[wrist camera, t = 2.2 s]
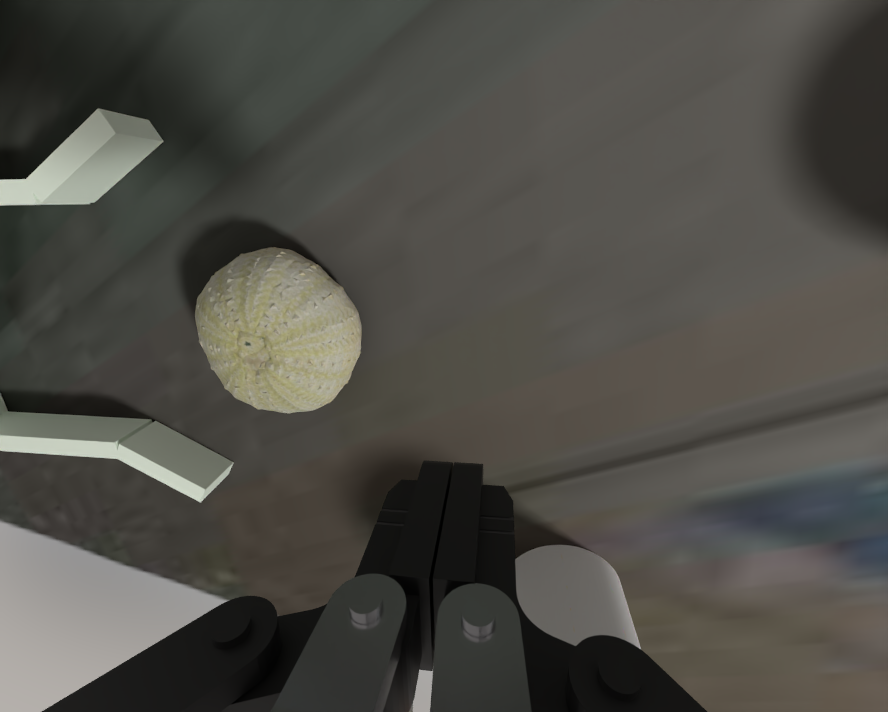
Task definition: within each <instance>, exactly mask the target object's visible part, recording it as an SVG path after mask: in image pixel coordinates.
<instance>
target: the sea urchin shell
mask: <svg viewBox="0 0 888 712" xmlns="http://www.w3.org/2000/svg"><path fill="white" fill-rule="evenodd" d="M195 320H196V325H197V330H198V335H199V339H200V340H199V342H200V344H201V346H202V348H203V349H204V352H205V353H206V355H207V358H208V361H209V363H210V364H211V369H212V370H214V371H215V373H216V374H217V376H218V377H219V379H220V380H221V382H222V383H223V385H224V389H226V390H228V391H229V392H230V393H231V394H232V395H233V396H234V397H235V398H237V399H239V400H241V401H243V402H245V403H248V404H250V405H252V406H254V407H255V408H257V409H265V410H270V411H277V412H283V413H288V414H289V413H291V412H293V413H294V412H303V411H312V410H315V409H318V408H320V407H322V406H323V405H325V404H327V403H330V402H331V401H333V399H334V398H335V397H336V395H337V394H338V393H339V391H340V390H341V389H342V388H343V387H344V385H345V384H347V383H348V380H349V379H350V376H351V372H352V370H353V368H354V366H355V364H356V362H357V359H358V357H359V356H360V355H359V354H360V353H361V352H360V349H361V334H362V326H361V322H360V318H359V313H358V311H357V309H356V308H355V306H354V304H353V303H352V301H351V300H350V299H349V297H348V296H347V294H346V292H345V291H344V290H343V287H342V286H340V285H339V284H337V283H336V282H335V281H334V280H333V279H332V278H330V277H329V276H328V274H327V273H326V272H325V271H324V270H323V269H322V268H321V266H319V265H318V264H315V263H314V262H312V261H310V260H308V259H306V258H304V257H303V256H302V255H300V254H298V253H296V252H294V251H293V250H290V249H288V250H287V249H282V248H276V247H273V248H272V247H270V248H266V249H260V250H257V251H254V252H249V253H246V254H242V253H241V254H240V256H238V257H236V258H235V259H234V260H233V261H232V262H230V263H229V264H228V265H226V266H225V267H223V268H222V269H220V270H219V271H217V272H215V274H214V275H213V276H211V279H210V281H209V282H208V283H207V284H206V286H205V288H204V289H203V291H202V292H201V294H199V296H198V297H197V304H196V310H195Z"/></svg>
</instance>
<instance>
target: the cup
mask: <svg viewBox="0 0 888 712" xmlns="http://www.w3.org/2000/svg"><path fill="white" fill-rule="evenodd" d="M515 567H516V591H517V598H518V601H519V604H520V606H521V608H522V610H523V612H524V613H525V615H526V616H527V617H528V618H529V619H530V621H531V622H532V623H533V624H535V625H536V626H537V627H538V628H540V629H541V630H543V631H544V632H545V633H547V634H549V635H551V636H553V637H556V638H558V639H560V640H563V641H565V642H567V643H570V644H572V645H574V646H576V645H577V644H578V643H580V642H581V641H582V640H584V639H586V638H588V637H591V636H595V635H609V636H614V637H618V638H621V639H623V640H626V641H628V642H630V643H632V644H633V645H635V646H636V647H638V648H639V649H641V648H640V644H639V641H638V638H637V635H636V632H635V628H634V625H633V622H632V619H631V615H630V612H629V609H628V606H627V602H626V599H625V596H624V593H623V590H622V586H621V583H620V580H619V577H618V575H617V573H616V572H615V570H614V569H613V568H612V566H611V565H610V564H609V563H608V562H607V561H605V560H604V559H603V558H601V557H600V556H598V555H597V554H595V553H593V552H591V551H588V550H586V549H583V548H580V547H575V546H569V545H548V546H542V547H538V548H535V549H532V550H530V551H528V552H526V553H524V554H522V555H521V556H519V557H518V558H517V559H515Z"/></svg>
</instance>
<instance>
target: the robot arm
mask: <svg viewBox="0 0 888 712" xmlns="http://www.w3.org/2000/svg"><path fill="white" fill-rule="evenodd" d="M433 663H434V667H433ZM419 669H420V670H428V671H432V670H433V681H432V694H431V708H430V712H707V711H706V710H705V709H704V708H703V707H702V706H701V705H700V704H699V703H698V702H696V701H695V700H694V699H693V698H692V697H691V696H690V695H689V694H688V693H687V692H686V691H685V690H684V689H683V688H682V687H681V686H680V685H679V684H677V683H676V682H675V681H674V680H673V679H672V678H671V677H670V676H669V675H668V674H667V673H666V672H665V671H664V670H663V669H662V668H661V667H660V666H659V665H657V664H656V663H655V662H654V661H653V660H652V659H651V658H650V657H649V656H648V655H647V654H646V653H644V652H643V651H642V650H641V649H639V648H638V647H636V646H635V645H633V644H632V643H630V642H628V641H626V640H623V639H621V638H618V637H614V636H609V635H595V636H591V637H588V638H586V639H584V640H582V641H581V642H580V643H578V644H577V645H576V646H574V645H572V644H570V643H567V642H565V641H563V640H560V639H558V638H556V637H553V636H551V635H549V634H547V633H545V632H544V631H543V630H541V629H540V628H538V627H537V626H536V625H535V624H533V623H532V622H531V621H530V619H529V618H528V617H527V616H526V615H525V613H524V612H523V610H522V608H521V606H520V604H519V601H518V598H517V591H516V567H515V541H514V515H513V500H512V499H511V497H510V495H509V494H508V492H507V491H506V489H505V488H504V486H492V485H483V464H473V463H456V462H455V463H454V466H453V463H452V462H438V461H424V462H423V464H422V467H421V470H420V474H419V477H418V480H417V481H414V480H401V481H400V482H399V483H398V484H397V485H396V486H394V487H393V488H392V489H391V490H390V491H389V492H388V494H387V497H386V499H385V502H384V504H383V507H382V511H381V512H380V515H379V517H378V520H377V524H376V525H375V527H374V530H373V532H372V535H371V537H370V540H369V543H368V545H367V548H366V550H365V553H364V555H363V558H362V560H361V563H360V565H359V568H358V570H357V573H356V575H355V577H354V578H352V579H350V580H348V581H347V582H345V583H344V584H342V585H341V586H340V587H339V588H338V589H337V590H336V591H335V592H334V593H333V595H332V596H331V598H330V600H329V602H328V603H327V604H326V605H324V606H321V607H319V608H316V609H312V610H308V611H303V612H298V613H293V614H288V615H283V616H278V617H277V612H276V609H275V607H274V605H273V604H272V603H271V602H270V601H268V600H267V599H265V598H262V597H257V596H245V597H239V598H235V599H232V600H230V601H227V602H225V603H223V604H221V605H219V606H218V607H216V608H214V609H213V610H211V611H209V612H208V613H206V614H204V615H203V616H201V617H199V618H197V619H196V620H194V621H192V622H191V623H189V624H188V625H186V626H184V627H182V628H181V629H179V630H178V631H176V632H174V633H172V634H171V635H169V636H167V637H166V638H164V639H162V640H161V641H159V642H158V643H156V644H154V645H152V646H151V647H149V648H148V649H146V650H144V651H142V652H141V653H139V654H137V655H136V656H134V657H132V658H131V659H129V660H127V661H126V662H124V663H122V664H121V665H119V666H117V667H116V668H114V669H112V670H111V671H109V672H107V673H106V674H104V675H102V676H101V677H99V678H97V679H96V680H94V681H92V682H91V683H89V684H87V685H85V686H84V687H82V688H80V689H79V690H77V691H76V692H74V693H72V694H70V695H69V696H67V697H66V698H64V699H62V700H60V701H59V702H57V703H55V704H54V705H52V706H51V707H49V708H47V709H45V710H44V711H42V712H413V711H412V710H413V700H414V695H415V690H416V685H417V679H418V673H419Z"/></svg>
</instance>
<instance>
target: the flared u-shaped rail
mask: <svg viewBox="0 0 888 712" xmlns="http://www.w3.org/2000/svg"><path fill="white" fill-rule="evenodd" d="M163 142H164V141H163V140H162V138H161V137H160V135H159V134H158V132H157V131H156V130H155V128H154V127H153V125H152V124H151V122H150V121H149V120H147V119H142V118H138V117H134V116H129V115H125V114H121V113H116V112H112V111H107V110H103V109H99V108H98V109H97V110H96V111H95V112H94V113H93V114H92V115H91V116H90V117H89V118H88V119H87V120H86V121H85V122H84V123H83V124H82V125H81V126H80V127H79V128H77V129H76V130H75V131H74V132H73V133H72V134H71V135H70V136H69V137H68V138H67V139H66V140H65V141H64V142H63V143H62V144H61V145H60V146H59V147H58V148H57V149H56V150H55V151H54V152H53V153H52V154H51V155H50V156H49V157H48V158H47V159H46V160H45V161H44V162H43V163H42V164H41V165H40V166H39V167H38V168H37V169H36V170H35V171H34V172H33V173H31V174H30V175H29V176H28V177H27V178H26V179H10V180H0V206H3V205H65V204H90V203H94V202H96V201H97V200H98V199H99V198H100V197H101V196H102V195H104V194H105V193H106V192H107V191H108V190H109V189H110V188H112V187H113V186H114V185H115V184H116V183H117V182H118V181H119V180H121V179H122V178H123V177H124V176H125V175H126V174H127V173H129V172H130V171H131V170H132V169H133V168H134V167H135V166H137V165H138V164H139V163H140V162H141V161H142V160H143V159H144V158H146V157H147V156H148V155H149V154H150V153H151V152H152V151H154V150H155V149H156V148H157V147H158V146H159V145H160V144H161V143H163ZM0 451H11V452H26V453H40V454H55V455H69V456H84V457H98V458H113V459H119V460H121V461H123V462H124V463H126V464H128V465H130V466H132V467H134V468H136V469H138V470H140V471H142V472H144V473H145V474H147V475H149V476H151V477H153V478H155V479H157V480H159V481H161V482H163V483H164V484H166V485H168V486H170V487H172V488H174V489H176V490H178V491H180V492H182V493H183V494H185V495H187V496H189V497H191V498H193V499H195V500H197V501H199V502H201V501H202V500H203V499H204V498H205V497H206V496H207V495H208V494H209V493H210V492H211V491H212V490H213V489H214V488H215V487H216V486H217V485H218V484H219V483H220V482H221V481H222V480H223V479H224V478H225V477H226V476H227V475H228V474H229V472H230V470H231V467H232V465H233V463H234V462H232V461H230V460H228V459H227V458H225V457H223V456H221V455H219V454H217V453H215V452H213V451H212V450H210V449H208V448H206V447H204V446H202V445H200V444H198V443H197V442H195V441H193V440H191V439H189V438H187V437H185V436H184V435H182V434H180V433H178V432H176V431H174V430H172V429H170V428H169V427H167V426H165V425H163V424H161V423H159V422H157V421H154V422H153V423H152V419H135V418H117V417H99V416H81V415H63V414H45V413H26V412H8V410H7V407H6V405H5V403H4V400H3V398H2V395H1V393H0Z"/></svg>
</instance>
